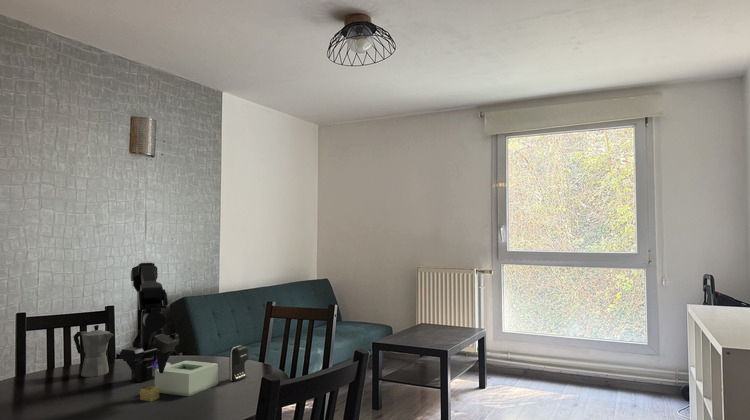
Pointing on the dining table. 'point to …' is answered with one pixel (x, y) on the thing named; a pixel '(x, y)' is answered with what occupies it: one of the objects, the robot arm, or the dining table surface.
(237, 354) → the battery charger
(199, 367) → the open box
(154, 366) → the pudding
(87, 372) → the coffeepot
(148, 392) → the khaki wooden block
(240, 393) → the dining table surface
